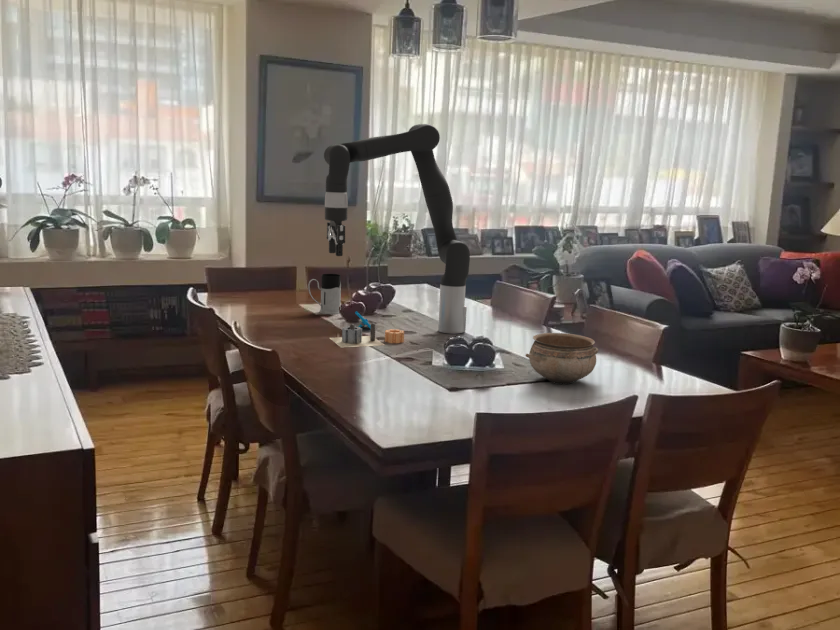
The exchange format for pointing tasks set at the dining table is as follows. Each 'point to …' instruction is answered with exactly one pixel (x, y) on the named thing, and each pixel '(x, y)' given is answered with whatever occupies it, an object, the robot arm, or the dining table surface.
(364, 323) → the blue sprocket wheel
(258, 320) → the dining table surface
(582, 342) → the cooking pot
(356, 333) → the gear
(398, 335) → the gear
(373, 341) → the peg board
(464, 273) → the robot arm
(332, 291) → the white and black mug
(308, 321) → the dining table surface
